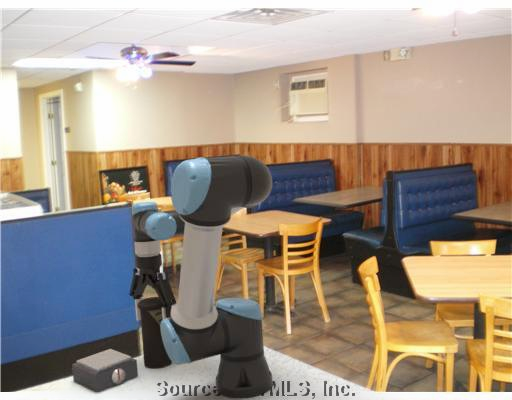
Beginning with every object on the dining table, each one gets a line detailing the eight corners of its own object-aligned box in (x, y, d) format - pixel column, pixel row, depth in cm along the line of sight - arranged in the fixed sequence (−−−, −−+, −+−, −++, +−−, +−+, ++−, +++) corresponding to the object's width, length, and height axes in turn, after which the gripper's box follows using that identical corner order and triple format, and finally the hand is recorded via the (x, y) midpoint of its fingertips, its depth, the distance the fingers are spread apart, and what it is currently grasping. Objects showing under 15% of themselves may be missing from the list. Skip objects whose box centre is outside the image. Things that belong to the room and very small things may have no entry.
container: (167, 369, 163) (161, 302, 161) (138, 369, 164) (132, 303, 162) (176, 358, 171) (171, 294, 169) (149, 357, 173) (143, 295, 171)
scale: (139, 377, 158) (137, 356, 158) (99, 393, 149) (96, 372, 148) (113, 366, 168) (111, 347, 167) (73, 381, 159) (71, 361, 158)
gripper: (184, 256, 159) (190, 327, 161) (134, 248, 176) (140, 313, 179) (163, 261, 154) (169, 335, 156) (114, 252, 171) (120, 319, 173)
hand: (154, 323), depth 167 cm, fingers open, 13 cm apart
